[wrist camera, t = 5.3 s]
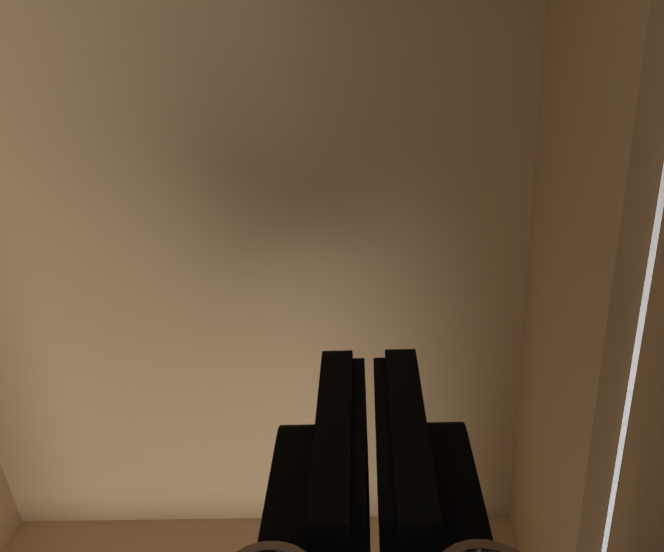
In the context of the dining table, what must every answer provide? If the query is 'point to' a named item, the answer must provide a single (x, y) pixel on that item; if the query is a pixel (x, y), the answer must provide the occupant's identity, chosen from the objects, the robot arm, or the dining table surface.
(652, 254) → the dining table surface
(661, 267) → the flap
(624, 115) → the kraft box
